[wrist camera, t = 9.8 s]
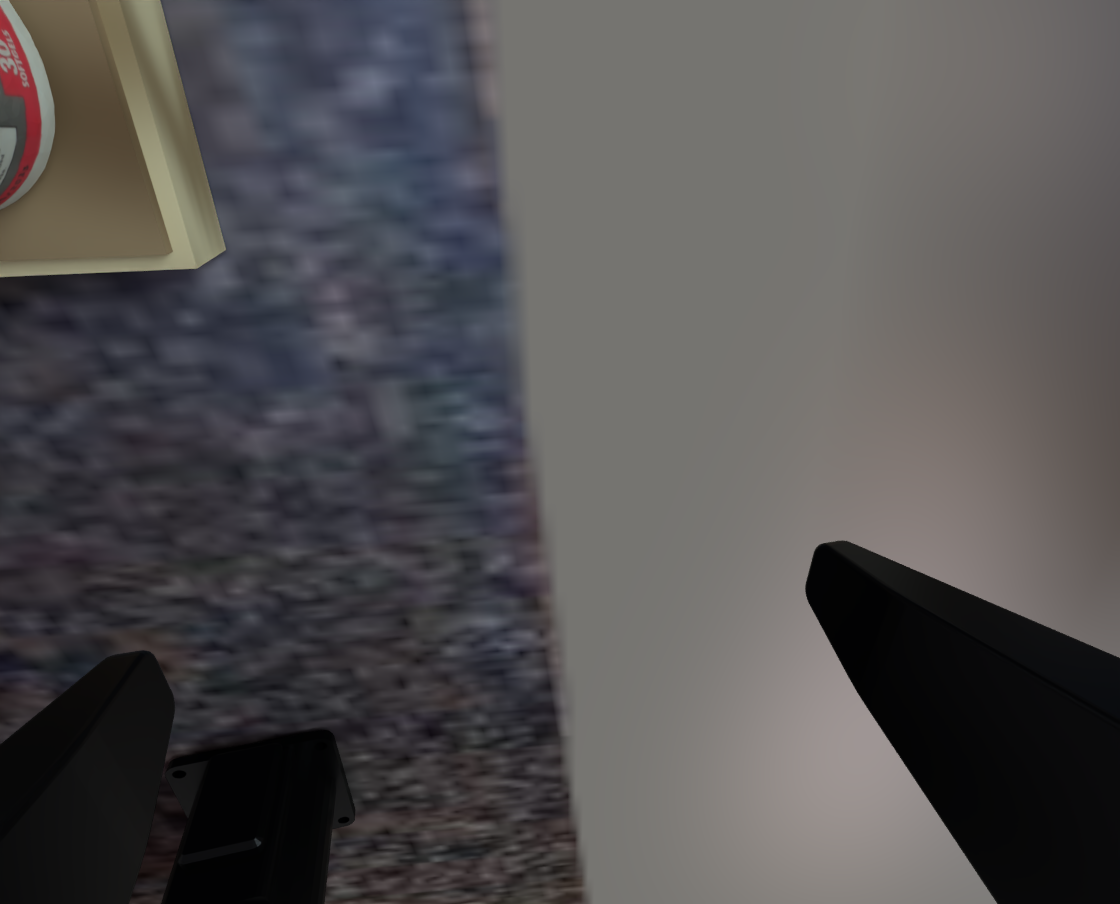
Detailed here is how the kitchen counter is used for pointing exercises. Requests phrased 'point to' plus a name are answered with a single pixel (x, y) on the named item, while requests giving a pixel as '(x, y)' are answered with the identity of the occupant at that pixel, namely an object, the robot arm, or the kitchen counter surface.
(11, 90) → the pill bottle
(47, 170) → the plinth
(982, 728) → the robot arm
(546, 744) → the kitchen counter surface
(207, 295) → the kitchen counter surface
